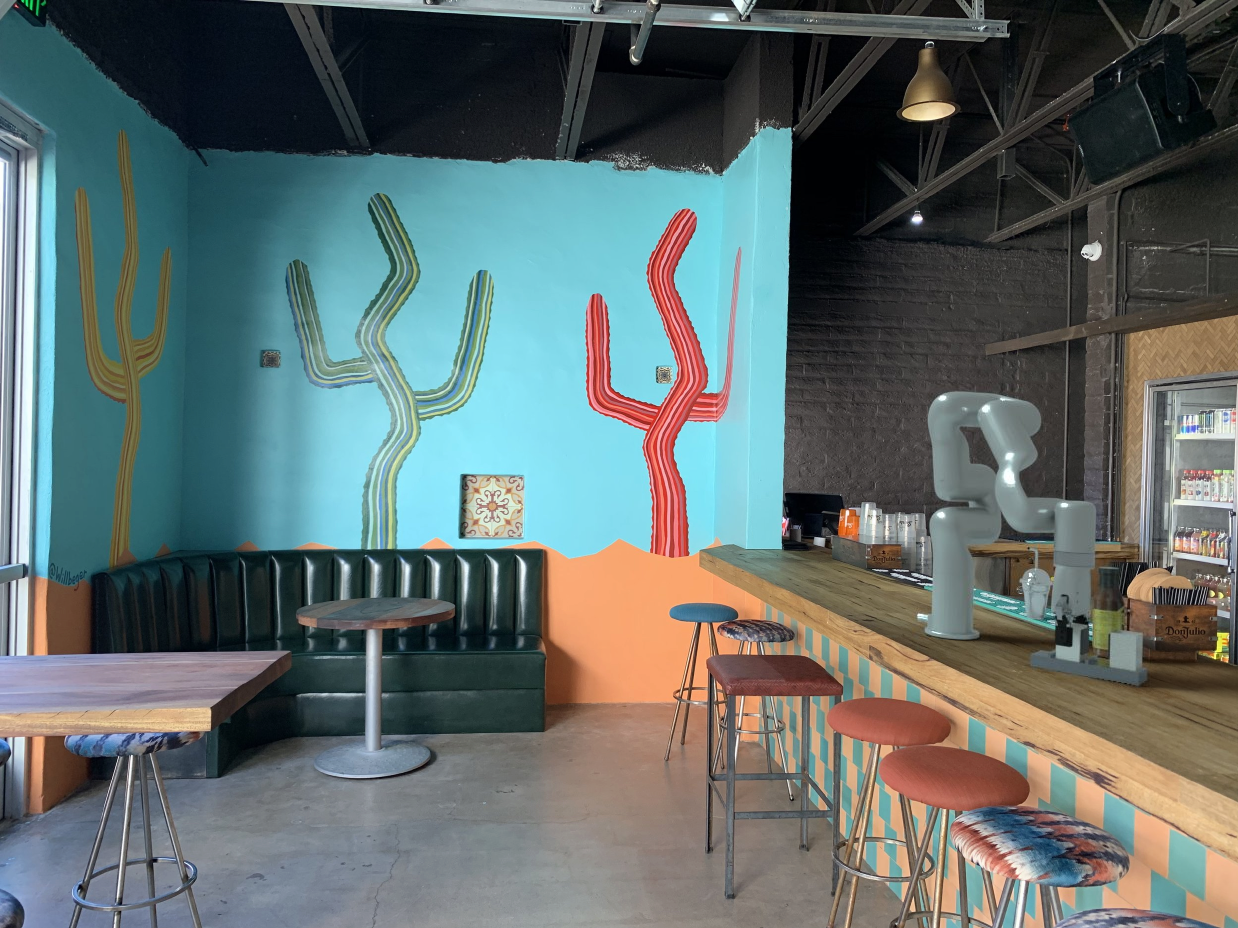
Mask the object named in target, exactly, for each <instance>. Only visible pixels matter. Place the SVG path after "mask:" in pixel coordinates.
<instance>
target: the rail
mask: <svg viewBox="0 0 1238 928" xmlns="http://www.w3.org/2000/svg"><path fill="white" fill-rule="evenodd" d="M1143 635H1144V633H1143V632H1137V631H1136V632H1135V631H1131V630H1125V631H1124V630H1115V631H1113V632H1111V633H1110V634H1108V658H1107V660H1109V661H1106V660H1101V659H1098V658H1099V656H1098V655H1095V654H1093V655H1091V656H1089V657H1088V656H1087V658H1086V659H1085V660H1083V661H1080V662H1076V661H1070V660H1065V659H1059V658H1056V648H1055V649H1053V650H1051V651H1047V650H1041V649H1040V650H1038V651H1035V652H1032V653H1031V654H1030V661H1029V662H1030V664H1029V666H1030V667H1033V668H1039V669H1044V670H1049V671H1055V672H1059V671H1060V672H1059V673H1064V674H1069V675H1071V674H1072V675H1074V676H1075V675H1077V676H1082V677H1086V676H1087V677H1086V678H1091V677H1092V678H1091V679H1097V678H1099V679H1098V680H1102V679H1104V680H1103V681H1108V680H1111V681H1110V682H1113V681H1116V682H1115V683H1118V682H1121V683H1120V684H1124V683H1127V684H1126V685H1129V684H1131V685H1130V686H1134V685H1135V687H1139V686H1142V685H1143V684H1144V683H1146V682H1147V681H1148V668H1147V667H1143V641H1144V640H1143V638H1144V637H1143ZM1145 681H1146V682H1145ZM1142 683H1143V684H1142Z"/></svg>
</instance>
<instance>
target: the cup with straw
mask: <svg viewBox="0 0 1238 928" xmlns="http://www.w3.org/2000/svg"><path fill="white" fill-rule="evenodd" d="M1027 550H1028V551H1033V552H1034V568H1030V569H1028V570H1025V572H1024V574H1023V576H1022V578H1020V579H1019V581H1018V582H1019V583H1021V584H1022V585H1021V586H1022V592H1023V595H1024V596H1023V597H1024V609H1025V614H1026V617H1025V618H1027V619H1031V620H1036V619H1037V621H1039V620H1041V621H1043V620H1045V616H1046V612H1047V610H1046V609H1047V606H1048V605H1047V604H1048V598H1049V595H1050V594H1049V593H1050V590H1051V586H1053V580H1051V578H1050V576H1049V574H1048V572H1046V571H1045V570H1044V569H1041V568H1039V551H1038V549H1037V548H1033V547H1027Z"/></svg>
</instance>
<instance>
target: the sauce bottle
mask: <svg viewBox="0 0 1238 928" xmlns="http://www.w3.org/2000/svg"><path fill="white" fill-rule="evenodd" d="M1098 574H1099V577H1098V578H1099V582H1098V583H1099V584H1098V586H1099V587H1098V589H1097V591H1096V592H1095V593H1094V595H1093V608H1092V648H1093V650H1092V651H1093V655H1098V657H1100V658H1105V659H1106V658H1107V659H1108V634H1110V633H1111V632H1113V631H1115V630H1124V631H1126V630H1125V629H1126V618H1125V617H1126V612H1125V611H1126V603H1125V600H1124V598H1123V595H1122V593H1121V590H1120V589H1121V588H1120V585H1119V575H1120V568H1119V567H1112V566H1111V567H1110V566H1099V567H1098Z"/></svg>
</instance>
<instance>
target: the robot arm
mask: <svg viewBox="0 0 1238 928" xmlns="http://www.w3.org/2000/svg"><path fill="white" fill-rule="evenodd" d="M1041 425H1042V417H1041V413H1040V411H1039V409H1038V408H1037V407H1036V406H1035V405H1034V404H1033V403H1031V402H1029V401H1027V400H1022V399H1018V398H1015V397H1010V396H1006V395H1001V394H997V393H988V392H975V391H974V392H973V391H949V392H945V393H942V394H940V395H938V396H937V397H936V398H935V399H934V400H933V401H932V403H931V404H930V407H929V409H928V415H927V426H928V432H929V436H930V437H929V438H930V442H931V446H932V447H931V449H932V468H933V485H934V492H935V495H936V496H937V497H938V498H939V499H940V500H943V501H946V502H965V503H967V502H968V505H969V506H947V507H942V508H940V509H938V510H936V511H935V512H934V513H933V514H932V515H931V517H930V519H929V535H930V539H931V545H932V590H931V592H932V593H931V594H932V595H931V596H932V597H931V613H928V614H927V613H921V612H918V614H917V616H916V619H917V622H918V623H919V622H921V623H926V624H927V625H926V626H925V627H924V633H926V634H927V635H929V636H933V637H935V638H942V639H949V640H962V641H963V640H975V639H978V638H979V637H980V631H978V630H976V629H974V596H975V594H974V593H975V590H974V589H975V563H974V559H973V556H972V554H971V552H970V550H969V547H968V546H987V545H991V544H993V543H996V541H997V540H998V539H999V536H1000V534H1001V531H1002V516H1003V518H1004V519H1005V521H1006V522H1007V524H1008V525H1009V527H1011V528H1012V529H1013V530H1015V531H1016V532H1018V533H1019V532H1020V533H1025V534H1027V533H1031V534H1035V533H1037V534H1038V533H1044V534H1046V533H1047V534H1049V533H1050V534H1051V533H1053V565H1052V566H1053V567H1055V569H1054V573H1053V574H1054V575H1053V580H1052V581H1053V585H1052V590H1051V591H1052V592H1051V593H1052V594H1051V607H1050V608H1051V609H1050V612H1051V613H1052V614H1053V615H1055V616H1054V618H1055V620H1054V625H1055V626H1054V645H1055V646H1056V645H1059V646H1065V647H1072V646H1073V627H1071V625H1072V623H1077V624H1083V625H1087V628H1089V627H1090V626H1089V625H1090V622H1089V621H1090V615H1089V612H1090V611H1091V604H1092V603H1091V602H1092V577H1091V574H1092V573H1091V570H1095V567H1096V566H1095V565H1096V564H1095V563H1096V533H1097V532H1096V530H1097V529H1096V527H1097V526H1096V525H1097V508H1096V505H1095V504H1094V503H1093V502H1090V501H1085V500H1084V501H1083V500H1066V499H1065V498H1057V497H1028V496H1027V494H1026V493H1025V491H1024V489H1023V486H1022V484H1021V480H1020V472H1021V471H1023V470H1025V469H1027V468H1028V467H1030V466H1031V465H1033V463H1034V462H1035V461H1036V460H1037V458H1038V454H1039V453H1038V451H1037V448H1036V446H1035V444H1034V442H1033V440H1032V439H1031V437H1032V436H1034V435H1035V434H1036V433H1037V432H1039V430H1040V429H1041ZM961 427H968V428H969V427H970V428H980V430H981V431H982V434H983V437H984V438H985V440H986V442H987V445H988V446H989V448H990V451H991V452H992V454H993V457H994V458H995V460H996V464H997V465H998V471H997V473H996V472H995V471H994V469H992V468H991V467H990V466H988V465H986V464H982V463H971V458H970V446H969V443H968V441H967V438H966V437H965V435H964V433H963V432H962V431H961V430H960V428H961ZM1089 629H1090V628H1089Z"/></svg>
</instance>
